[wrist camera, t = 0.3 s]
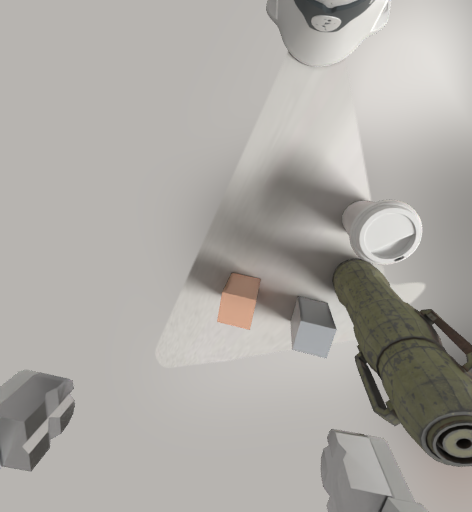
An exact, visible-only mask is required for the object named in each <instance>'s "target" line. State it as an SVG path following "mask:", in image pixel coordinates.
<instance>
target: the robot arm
mask: <svg viewBox="0 0 472 512" xmlns="http://www.w3.org/2000/svg"><path fill="white" fill-rule="evenodd" d="M390 5H391V0H268V1H267V7H266V10H267V13H268V15H269V16H270V18H271V19H272V20H273V21H274V23H275V24H276V25H277V26H278V28H279V30H280V33H281V36H282V39H283V42H284V44H285V46H286V48H287V49H288V51H289V52H290V53H291V54H292V55H293V56H294V57H295V58H296V59H297V60H299V61H300V62H302V63H304V64H307V65H310V66H319V67H320V66H328V65H332V64H335V63H337V62H339V61H341V60H343V59H344V58H346V57H347V56H348V55H350V54H351V53H352V52H353V51H354V50H355V49H356V48H357V47H358V46H359V45H360V44H361V43H362V42H363V41H364V40H365V39H366V38H367V37H368V36H371V35H373V34H375V33H376V32H378V31H380V30H381V29H382V28H383V27H384V26H385V25H386V23H387V21H388V19H389V12H390ZM73 389H74V387H73V380H70V379H67V378H63V377H58V376H54V375H49V374H44V373H39V372H35V371H29V370H23V371H20V372H18V373H17V374H16V375H14V376H13V377H12V378H11V379H9V380H8V381H7V382H6V383H4V384H3V385H2V386H1V387H0V469H1V466H4V467H9V468H14V469H20V470H26V471H32V470H33V468H34V467H35V466H36V465H37V464H38V462H39V461H40V460H41V458H42V457H43V456H44V455H45V453H46V452H47V451H48V450H49V448H50V440H51V439H52V438H54V437H56V436H58V435H59V434H61V433H62V432H63V430H64V429H65V428H66V426H67V425H68V423H69V421H70V419H71V417H72V415H73V412H74V407H75V403H74V399H73V397H72V396H71V395H70V392H71V391H72V390H73ZM327 439H328V443H329V446H327V447H326V448H324V449H323V453H322V457H321V477H322V483H323V487H324V489H325V490H326V491H327V493H328V494H329V495H330V497H329V500H328V503H327V509H328V512H429V511H428V510H427V509H426V508H425V507H424V506H423V505H422V504H420V503H416V502H415V500H414V498H413V496H412V494H411V492H410V490H409V487H408V485H407V483H406V481H405V479H404V477H403V475H402V473H401V470H400V468H399V466H398V464H397V462H396V460H395V458H394V456H393V453H392V451H391V449H390V447H389V445H388V443H387V441H386V440H385V439H384V438H379V437H374V436H368V435H364V434H358V433H353V432H347V431H342V430H336V429H331V430H330V431H329V434H328V437H327Z"/></svg>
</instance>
